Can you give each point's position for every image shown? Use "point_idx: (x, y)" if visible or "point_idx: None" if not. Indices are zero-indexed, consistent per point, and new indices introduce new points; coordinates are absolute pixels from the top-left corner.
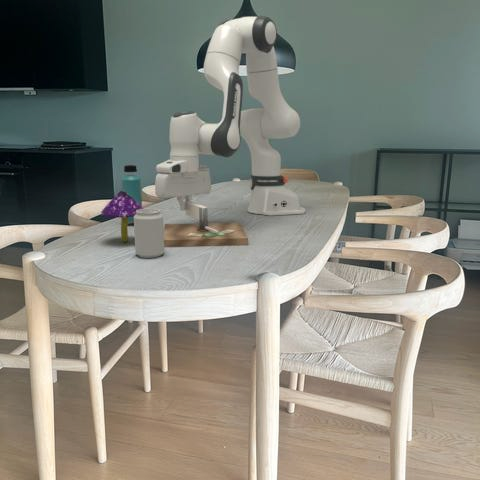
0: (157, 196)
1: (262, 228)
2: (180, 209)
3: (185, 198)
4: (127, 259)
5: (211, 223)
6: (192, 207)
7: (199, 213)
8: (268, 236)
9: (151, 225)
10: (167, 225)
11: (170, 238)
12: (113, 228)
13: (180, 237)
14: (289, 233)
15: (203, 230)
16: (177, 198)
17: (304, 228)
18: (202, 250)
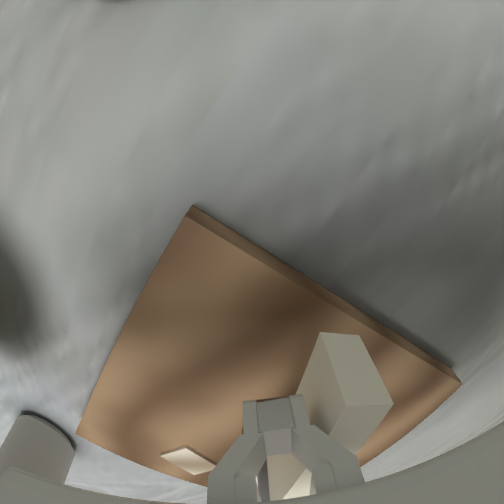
0: (8, 474)
1: (476, 390)
2: (242, 403)
3: (314, 471)
4: (8, 417)
5: (399, 357)
6: (295, 461)
7: (259, 491)
8: (398, 457)
9: None
10: (176, 267)
11: (101, 438)
12: (18, 21)
13: (134, 448)
14: (446, 445)
15: None
16: (209, 486)
17: (499, 416)
18: (169, 476)
